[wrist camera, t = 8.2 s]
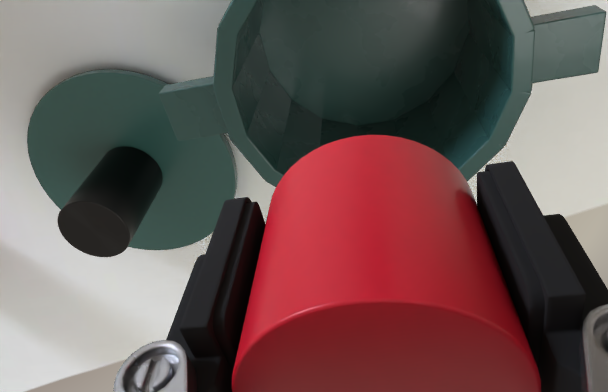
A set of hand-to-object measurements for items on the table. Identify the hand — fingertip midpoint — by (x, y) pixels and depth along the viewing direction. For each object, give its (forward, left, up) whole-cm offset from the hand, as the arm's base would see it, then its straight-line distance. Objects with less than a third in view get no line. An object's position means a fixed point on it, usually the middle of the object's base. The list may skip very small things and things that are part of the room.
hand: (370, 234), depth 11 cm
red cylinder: (0, 0, 0) cm, 0 cm away
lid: (+6, -16, -17) cm, 24 cm away
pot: (0, 0, -18) cm, 18 cm away
